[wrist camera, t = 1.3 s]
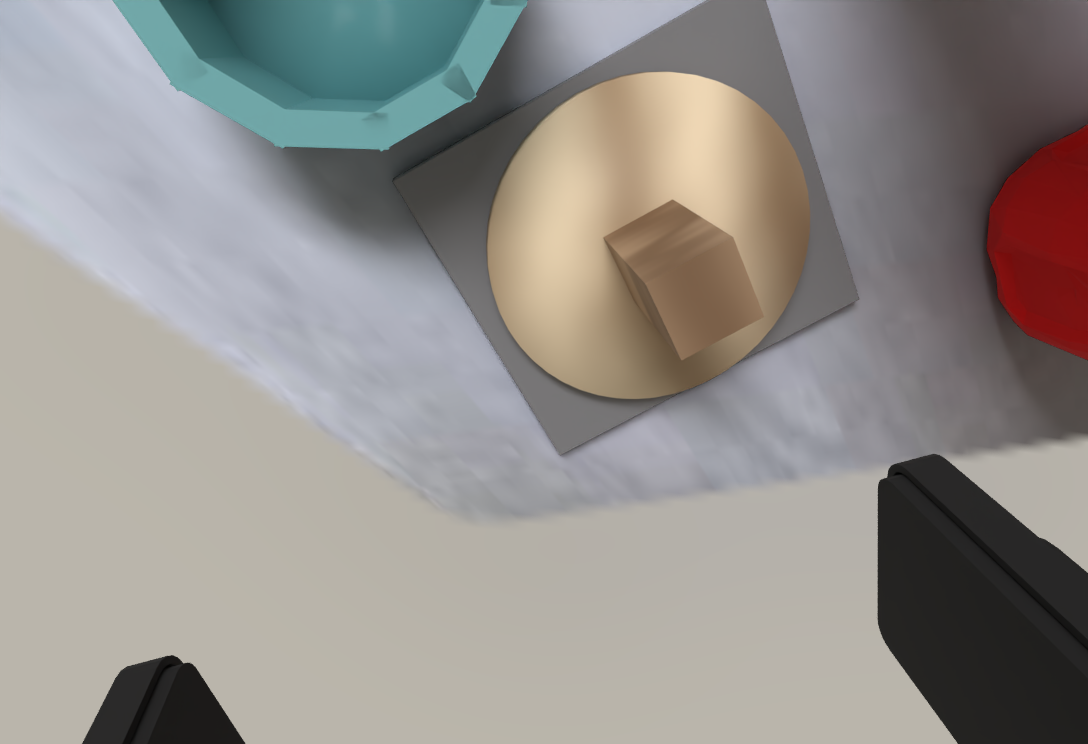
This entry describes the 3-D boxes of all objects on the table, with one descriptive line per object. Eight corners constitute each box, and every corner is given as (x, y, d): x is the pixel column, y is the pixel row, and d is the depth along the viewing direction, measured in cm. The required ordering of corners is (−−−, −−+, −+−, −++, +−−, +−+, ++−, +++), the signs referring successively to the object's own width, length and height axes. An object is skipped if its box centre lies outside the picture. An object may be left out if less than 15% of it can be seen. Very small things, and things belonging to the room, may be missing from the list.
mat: (750, -25, 25) (757, -27, 25) (851, 294, 31) (859, 299, 31) (393, 178, 26) (392, 181, 26) (557, 448, 32) (560, 455, 32)
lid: (736, 2, 25) (838, -14, 19) (835, 300, 31) (939, 365, 24) (423, 180, 26) (419, 221, 20) (574, 437, 32) (609, 532, 25)
